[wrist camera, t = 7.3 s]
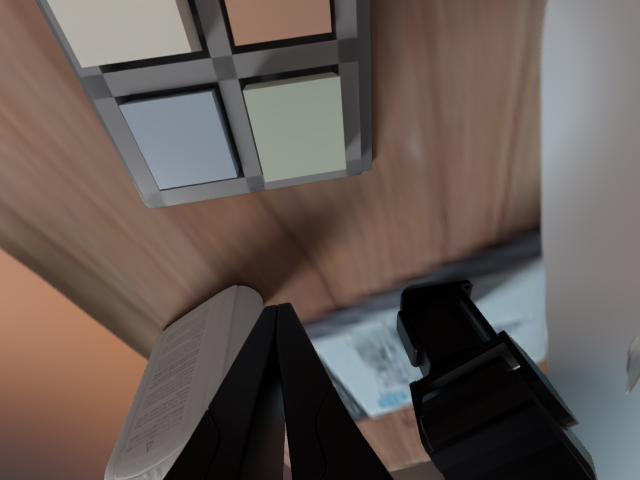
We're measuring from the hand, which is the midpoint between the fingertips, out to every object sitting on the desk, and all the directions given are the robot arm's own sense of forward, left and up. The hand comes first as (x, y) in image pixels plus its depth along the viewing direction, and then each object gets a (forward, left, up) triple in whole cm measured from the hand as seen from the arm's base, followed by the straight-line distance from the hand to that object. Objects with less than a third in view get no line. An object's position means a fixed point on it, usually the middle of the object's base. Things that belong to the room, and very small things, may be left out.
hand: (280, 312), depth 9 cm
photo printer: (+8, +12, -11) cm, 18 cm away
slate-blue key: (+4, -4, -10) cm, 11 cm away
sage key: (-2, -4, -9) cm, 10 cm away
